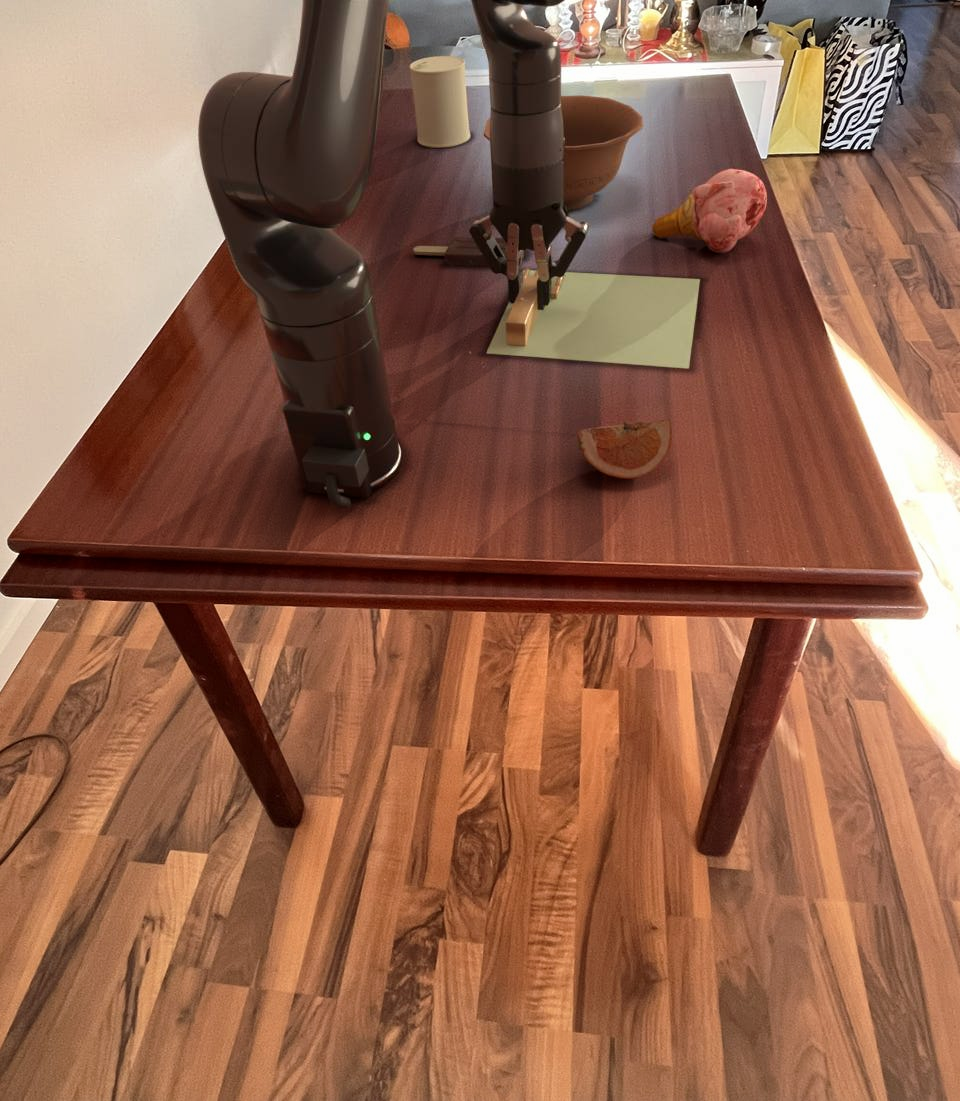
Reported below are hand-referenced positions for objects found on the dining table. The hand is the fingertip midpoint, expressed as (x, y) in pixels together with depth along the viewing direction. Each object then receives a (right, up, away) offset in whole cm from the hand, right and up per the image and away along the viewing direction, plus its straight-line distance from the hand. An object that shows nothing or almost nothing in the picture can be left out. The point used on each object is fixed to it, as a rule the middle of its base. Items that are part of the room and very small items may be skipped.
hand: (530, 305), depth 96 cm
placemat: (+8, -2, -1) cm, 8 cm away
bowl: (+6, +23, +23) cm, 33 cm away
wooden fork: (0, 0, 0) cm, 1 cm away
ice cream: (+23, +10, +9) cm, 27 cm away
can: (-12, +42, +45) cm, 63 cm away
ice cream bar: (-7, +10, +12) cm, 17 cm away
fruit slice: (+7, -21, -21) cm, 30 cm away
